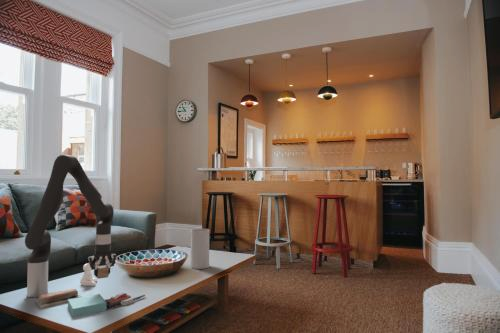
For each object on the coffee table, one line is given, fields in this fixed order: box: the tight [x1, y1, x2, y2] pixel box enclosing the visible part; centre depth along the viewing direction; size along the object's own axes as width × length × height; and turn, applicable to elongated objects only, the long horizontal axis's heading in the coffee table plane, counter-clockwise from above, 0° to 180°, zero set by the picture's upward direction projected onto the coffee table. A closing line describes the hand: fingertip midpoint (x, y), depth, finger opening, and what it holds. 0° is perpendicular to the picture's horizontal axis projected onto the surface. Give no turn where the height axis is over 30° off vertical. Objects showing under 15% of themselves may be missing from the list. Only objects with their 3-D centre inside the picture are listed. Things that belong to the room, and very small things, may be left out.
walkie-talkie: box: [104, 292, 146, 309], centre depth 173 cm, size 9×4×20 cm
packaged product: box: [35, 288, 82, 309], centre depth 173 cm, size 18×5×10 cm
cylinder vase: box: [190, 228, 210, 270], centre depth 239 cm, size 12×12×25 cm
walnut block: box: [96, 264, 109, 280], centre depth 181 cm, size 5×5×5 cm
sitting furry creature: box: [79, 262, 98, 287], centre depth 199 cm, size 10×9×12 cm
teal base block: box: [67, 293, 107, 318], centre depth 164 cm, size 14×14×4 cm
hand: (101, 275), depth 181 cm, fingers closed on walnut block, 5 cm apart
